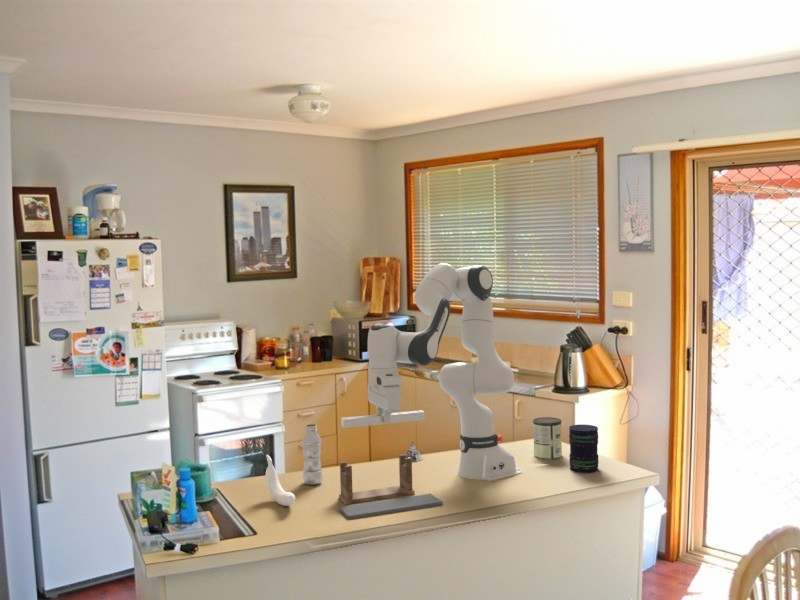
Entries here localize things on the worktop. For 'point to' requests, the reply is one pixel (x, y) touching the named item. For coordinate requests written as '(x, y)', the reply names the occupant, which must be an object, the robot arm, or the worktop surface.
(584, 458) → the storage jar
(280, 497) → the banana
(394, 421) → the rail
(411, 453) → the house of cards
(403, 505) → the mat
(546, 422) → the coffee can
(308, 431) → the plastic bottle
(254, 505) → the worktop surface
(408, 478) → the stand
